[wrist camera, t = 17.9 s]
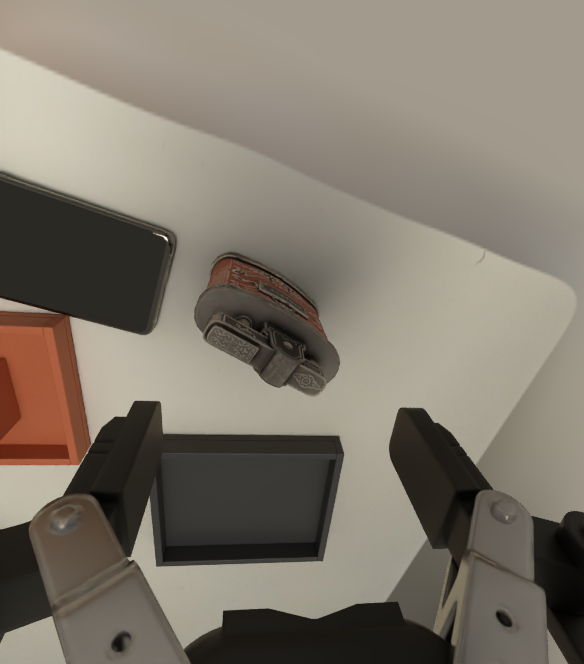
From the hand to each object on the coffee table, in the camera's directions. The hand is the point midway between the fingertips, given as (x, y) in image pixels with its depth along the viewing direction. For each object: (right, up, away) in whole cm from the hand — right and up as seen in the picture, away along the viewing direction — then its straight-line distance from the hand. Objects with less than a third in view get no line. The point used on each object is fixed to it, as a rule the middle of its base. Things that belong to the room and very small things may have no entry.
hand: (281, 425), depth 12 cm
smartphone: (-15, +9, +10) cm, 20 cm away
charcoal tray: (-4, -11, +20) cm, 24 cm away
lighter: (-1, +6, +13) cm, 14 cm away
